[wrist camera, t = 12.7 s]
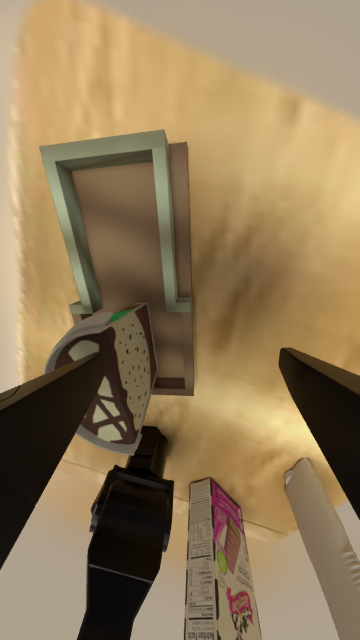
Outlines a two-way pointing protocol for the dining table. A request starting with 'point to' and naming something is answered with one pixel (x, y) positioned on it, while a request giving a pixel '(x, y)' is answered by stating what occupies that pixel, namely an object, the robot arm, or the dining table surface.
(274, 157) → the dining table surface
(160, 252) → the green flat tray
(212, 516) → the candy bar box
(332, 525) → the light grey flat bottle
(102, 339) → the food container
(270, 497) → the dining table surface
